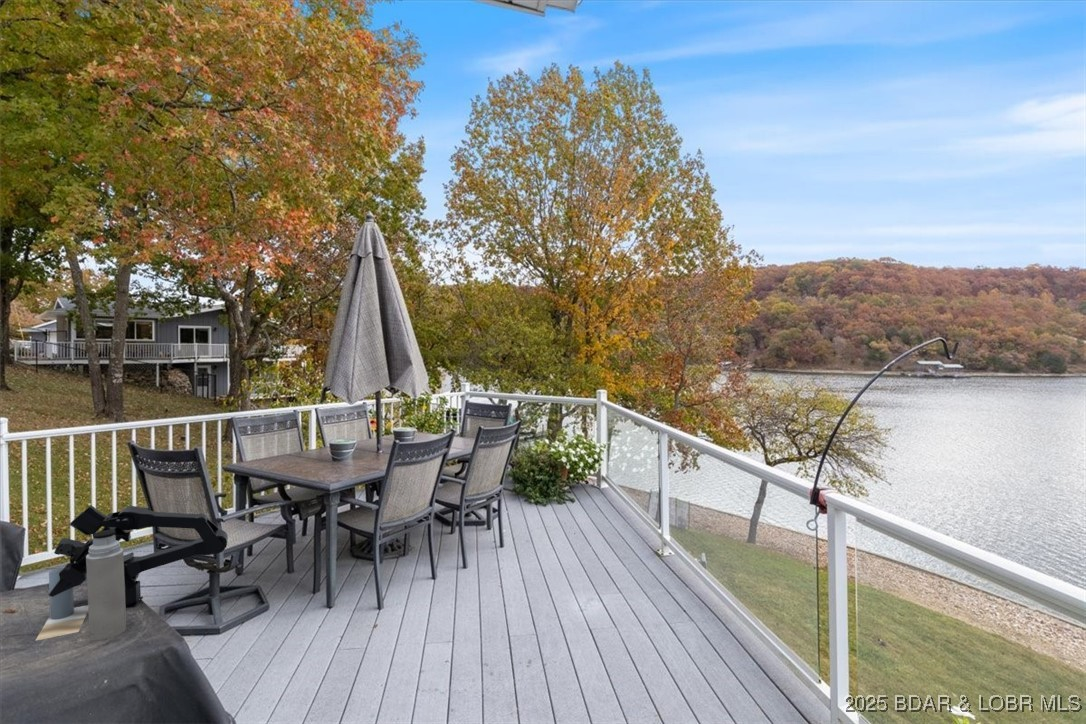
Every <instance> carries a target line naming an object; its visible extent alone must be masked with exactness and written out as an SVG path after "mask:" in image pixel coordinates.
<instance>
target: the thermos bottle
mask: <svg viewBox="0 0 1086 724" xmlns="http://www.w3.org/2000/svg"><path fill="white" fill-rule="evenodd" d="M115 534H116V531H115V530H104V531H101V530H100V531H97V532H96V533H94V534H93V535H92V539H93V544H92V545H91V546H90V547H89V551H88V552H89V554H88V555H87V556H86V566H87V578H86V585H87V586H86V587H87V590H86V591H87V605H88V613H87V615H88V631H89V632H88V633H89V639H90V640H91V641H104V640H108V639H112V638H115V637H117V636H119V635H122V634H123V633H124V632H125V631H126V630H127V612H126V611H127V610H126V609H127V608H126V606H125V581H124V557H123V556H124V549H123V548H122V547H121V541H117V540H116V538H115Z"/></svg>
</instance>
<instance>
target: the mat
mask: <svg viewBox="0 0 1086 724" xmlns="http://www.w3.org/2000/svg"><path fill="white" fill-rule="evenodd" d="M87 615H88V604H87V605H81V606H77V607H76V606H74V613H73V614H72V615H71V616H69V617H66V618H62V619H56V620H53V619H51V618H50V615H49V617H48V618H47V619H46V621H45V624H44V625H43V627H42V628H41V631H40V632H39V633H38V635H37V637H36V639H35V640H34V641H35V642H37V641H41V640H47V639H51V638H56V637H61V636H66V635H70V634H76V633H79V632H80V630H81V628H82V625H83V623H84V621H85V619H86V617H87Z"/></svg>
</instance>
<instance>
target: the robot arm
mask: <svg viewBox="0 0 1086 724" xmlns="http://www.w3.org/2000/svg"><path fill="white" fill-rule="evenodd" d="M68 526H70V527H73V528H74V529H75V530H76V531H78V532H80V533H82V534H83V535H84V536H91V535H92V536H93V534H94V533H96V532H99V530H100V531H104V530H115V531H116V534H115V538H116V540H117V541H119V542H121V540H123V541H125V542H126V543H128V542H130V540H131V538H132V536H131V532H132V531H136V530H142V529H145V528H175V529H193V530H195V531H196V532H197V534H198V535H199V537H198V538H197V539H195V540H193V541H190V542H187V543H182V544H179V545H176V546H173V547H169V548H166V549H163V550H159V551H155V552H152V553H148V554H146V555H142V556H134V552H130V553H127V554H123V557H124V581H125V606H126V609H129V608H135V607H136V606H137V605H138V604H139V603H140V602H141V601H142V600H143V598H144V596H142V593H141V581H140V580H137V579H138V578H139V575H140V574H141V573H144V571H148V570H151V569H154V568H159V567H161V566H165V565H168V564H171V563H175V562H178V561H181V560H185V559H188V558H191V557H194V556H211V555H216V554H221V553H222V552H224V550H225V549H226V548H227V546H228V539H229V535H228V533H227V532H226V531H225V530H224V529H223V530H222V529H220V528H219V527H218V526H217V525H216V524H215V523H214V522H213V521H211V520H210V519H209V518H208V516H207V515H206V514H205V513H197V514H196V513H181V512H163V511H153V510H150V509H148V508H144V507H140V506H137V505H129V506H126V507H124V508H122V509H121V510H120V511H115V512H110V513H108V514H104V513H102V512H101V511H99V510H98V509H97V508H96V507H95V506H93V505H89V506H88V507H87V508H85V510H83V511H81V512H80V513H79V514H78V515H77V516H76V517H75V518H73V520H72V521H71V522H70V523H69V524H68ZM102 527H103V528H102ZM101 528H102V529H101ZM92 544H93V538H91V539H88V540H87V541H85V542H82V541H79V540H76V539H75V540H74V539H70V538H64V537H63V538H61V539H60V541H59V542H58V545H57V546H56V548H55V550H54V552H53V554H55V555H58V556H59V555H60V556H61V555H62V556H67V557H69V562H68V563H67V564H65V566H64V568H63V567H62V568H63V569H62V570H61V571H60V573H59V576H60V580H59V581H58V583H57V584H56V585H55V587H54V588H53V589H52V591H51V592H50V593H48V597H50V596H51V597H53V596H55V595H57V594H60V593H62V592H64V591H66V590H68V589H70V588H73V589H74V588H75V587H78V586H81V585H82V584H83V583H84V582H85V581H87V566H86V556H87V555H88V554H89V552H88V551H89V547H90V546H91V545H92ZM139 599H140V600H141V601H140V600H139Z"/></svg>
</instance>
